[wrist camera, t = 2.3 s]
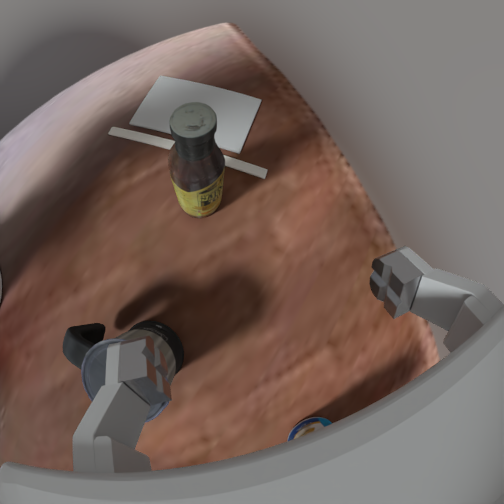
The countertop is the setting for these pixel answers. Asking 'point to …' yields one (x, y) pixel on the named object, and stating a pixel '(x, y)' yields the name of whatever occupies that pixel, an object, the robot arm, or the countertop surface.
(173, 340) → the milk frother
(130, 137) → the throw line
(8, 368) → the countertop surface
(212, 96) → the mat
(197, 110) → the sauce bottle
